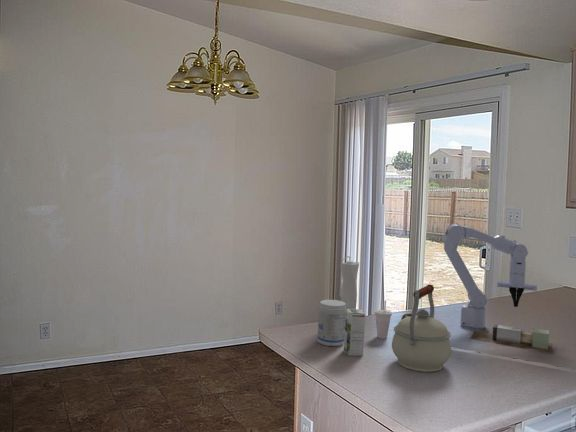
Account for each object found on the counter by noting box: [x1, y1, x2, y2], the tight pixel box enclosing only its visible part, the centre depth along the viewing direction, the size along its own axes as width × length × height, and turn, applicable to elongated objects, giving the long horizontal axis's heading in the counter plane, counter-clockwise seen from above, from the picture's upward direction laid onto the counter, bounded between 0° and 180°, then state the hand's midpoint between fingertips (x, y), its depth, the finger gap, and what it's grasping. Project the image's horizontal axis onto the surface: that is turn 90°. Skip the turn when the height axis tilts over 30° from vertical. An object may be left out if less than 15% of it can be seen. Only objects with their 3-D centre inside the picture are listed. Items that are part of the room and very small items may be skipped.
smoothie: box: [374, 300, 393, 339], centre depth 188 cm, size 6×6×14 cm
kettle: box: [391, 284, 452, 373], centre depth 160 cm, size 25×18×25 cm
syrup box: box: [343, 308, 366, 357], centre depth 168 cm, size 6×6×14 cm
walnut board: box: [469, 330, 552, 353], centre depth 186 cm, size 27×12×1 cm, turn 61°
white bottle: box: [339, 256, 360, 319], centre depth 201 cm, size 8×8×28 cm
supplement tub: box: [317, 299, 346, 347], centre depth 178 cm, size 10×10×15 cm
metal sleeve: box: [497, 324, 523, 344], centre depth 186 cm, size 8×5×5 cm, turn 61°
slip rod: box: [492, 324, 533, 343], centre depth 185 cm, size 16×4×4 cm, turn 61°
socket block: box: [532, 327, 550, 349], centre depth 181 cm, size 5×6×5 cm
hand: (515, 306), depth 202 cm, fingers closed
